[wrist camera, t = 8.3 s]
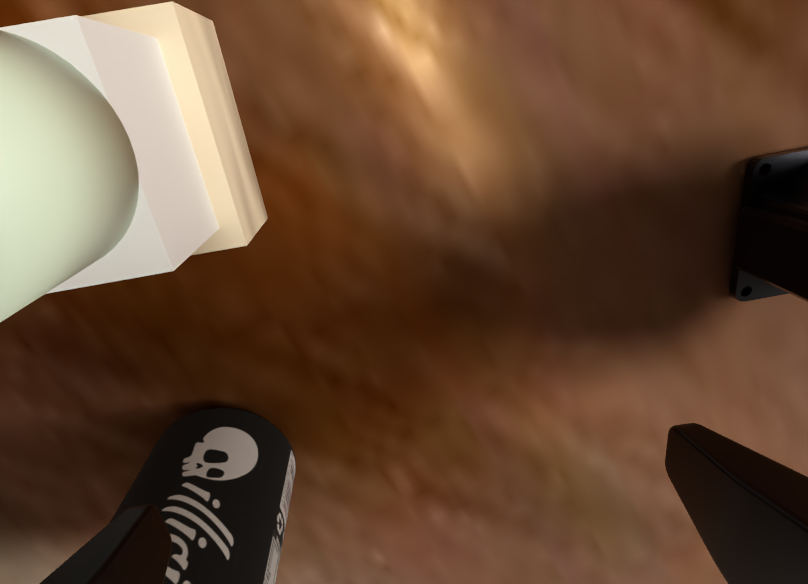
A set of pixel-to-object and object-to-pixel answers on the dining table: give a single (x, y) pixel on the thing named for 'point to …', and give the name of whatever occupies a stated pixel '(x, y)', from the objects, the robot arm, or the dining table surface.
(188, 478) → the beverage can
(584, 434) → the dining table surface
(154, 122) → the top block
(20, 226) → the pale green rounded cylinder
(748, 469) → the robot arm
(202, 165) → the base block
